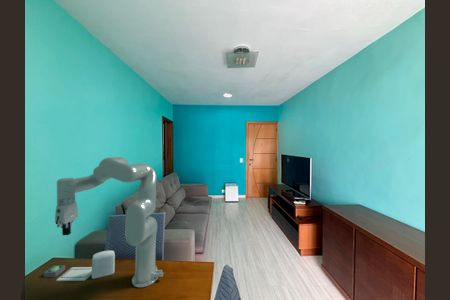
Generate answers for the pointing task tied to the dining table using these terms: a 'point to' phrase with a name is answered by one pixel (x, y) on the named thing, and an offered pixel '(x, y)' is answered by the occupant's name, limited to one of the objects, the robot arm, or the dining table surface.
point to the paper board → (76, 274)
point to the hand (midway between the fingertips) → (66, 234)
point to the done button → (54, 269)
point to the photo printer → (103, 264)
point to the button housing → (54, 274)
